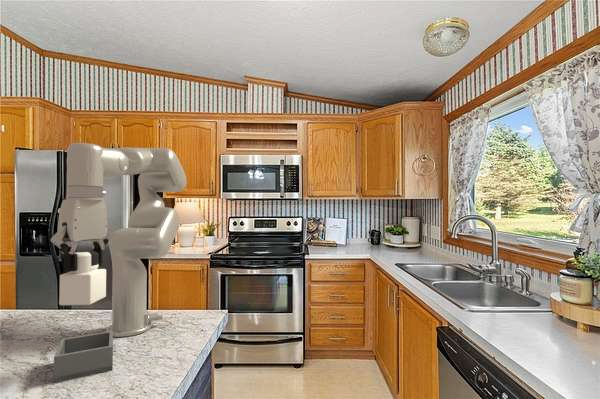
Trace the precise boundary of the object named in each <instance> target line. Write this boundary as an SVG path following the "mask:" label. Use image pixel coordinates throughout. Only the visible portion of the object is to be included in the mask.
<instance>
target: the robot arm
mask: <svg viewBox="0 0 600 399" xmlns="http://www.w3.org/2000/svg"><path fill="white" fill-rule="evenodd" d="M66 154H67V155H66V199H63V200H62V202H61V204H60V208H59V209H60V210H59V214H58V220H57V221H58V222H57V232H55V234H53V236H52V237H51V238H50V242H51V243H52V244H53V245H54V246H56V247H57V249H58V250H60V253H61V254H62V255H63V256H64V257H63V259H64V260H63V261H64V262H63V265H64V266H63V267H64V271H65V272H71V271H76V270H77V254H74V253H75V252H77V251H76V250H77V248H78V245H79V242H80V243H81V242H88V241H89V242H90V243H91V245H92V249H91V250H90V251H95V252H97V253H98V254H99V265H98V267H102V266H103V262H104V261H103V254H104V250H105V249H106V246H107V245H108V246H109V253H110V257H111V263H112V285H111V286H112V291H111V292H112V296H111V298H112V299H111V300H112V302H111V303H112V304H111V306H112V307H111V310H112V311H111V324H110V325H109V326H107V327H106V330H105V332H109V331H113V338H121V337H122V338H124V337H132V336H136V335H139V334H142V333H145V332H146V331H149V330H150V329H151V327H152V325H153V324H152V322H153V321H162V320H163V313H158V312H153V313H149V312H148V310H147V294H148V293H147V287H148V286H147V284H148V283H147V282H148V280H147V278H148V276H147V274H148V272H147V269H146V266H145V265H144V263H143V262H142V260H141V259H161V258H164V257H165V256H166V255H167V254H168V253H169V251H170V249H171V247H172V245H173V243H174V240H175V238H176V235H177V233H178V230H179V227H180V215H179V213H178V211H177V210H176V209H174V208H172V207H167V206H166V205H165V202H164V200H163V198H162V197H161V196H160V195H159V194H157V193H179V192H183V191H184V190H185V189H186V187H187V175H186V173H185V170H184V168H183V166H182V164H181V162H180V159H179V158H178V156H177V154H176V153H175V151H174V150H172V149H171V148H169V147H166V148H165V147H113V148H108V147H107V148H106V147H102V146H101V145H98V144H95V143H89V142H88V143H87V142H74V143H73V142H72V143H71V144H69V145H68V147H67V151H66ZM132 175H133V176H134V175H139V176H138V179H137V186H138V195H139V202H138V204H137V205H136V207H135V209H134V210H133V211H132V213H131V215H130V216H129V218H128V222H127V227H123V228H119V229H117V230H114V232H112V231H111V230H110V229H109V227H108V224H109V223H108V212H107V206H106V200H104V197H105V195H106V190H104V178H107V177H108V178H111V177H112V178H116V177H121V176H132ZM165 206H166V207H165Z"/></svg>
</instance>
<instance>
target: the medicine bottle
mask: <svg viewBox="0 0 600 399" xmlns="http://www.w3.org/2000/svg"><path fill="white" fill-rule="evenodd" d="M74 254H77V270H76V271H67V272H65V273H62V274H60V275H59V285H58V286H59V287H58V289H59V290H58V291H59V293H58V294H59V296H58V304H59V306H91V305H92V304H94V303H97V302H99V301H100V300H103V299H104V298H106V297H107V268H106V269H105V268H99V266H98V265H99V254H98V253H97V252H95V251H91V250H84V251H83V250H81V251H75V253H74Z"/></svg>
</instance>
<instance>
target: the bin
mask: <svg viewBox="0 0 600 399" xmlns="http://www.w3.org/2000/svg"><path fill="white" fill-rule="evenodd" d="M113 349H114V337H113V331H109V332H106V331H104V332H98V333H91V334H85V335H84V334H83V335H78V336H74V337H72V336H71V337H66V338H61V339H60V342H59V343H58V347H57V349H56V351H55V354H54V356H53V383H57V382H58V383H59V382H63V381H67V380H73V379H77V378H81V377H86V376H92V375H95V374H101V373H105V372H110V371H113V369H114V368H113V367H114V366H113V365H114V361H113V360H114V358H113V357H114V350H113Z"/></svg>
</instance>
